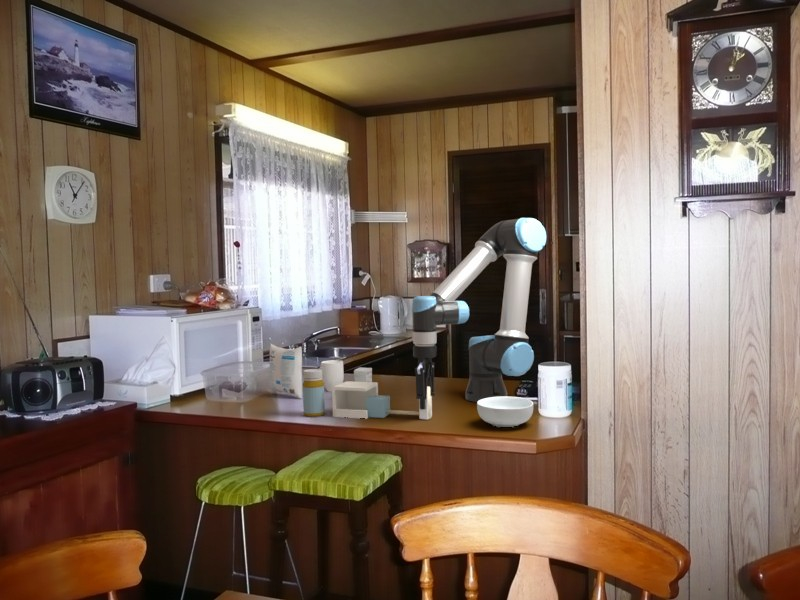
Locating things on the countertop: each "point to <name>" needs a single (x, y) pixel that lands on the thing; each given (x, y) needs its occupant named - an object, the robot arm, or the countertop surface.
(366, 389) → the cubby shelf
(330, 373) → the mug
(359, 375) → the ink box
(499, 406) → the cereal bowl
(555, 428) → the countertop surface
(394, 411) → the toy mallet
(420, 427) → the countertop surface
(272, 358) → the pouch
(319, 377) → the bottle
